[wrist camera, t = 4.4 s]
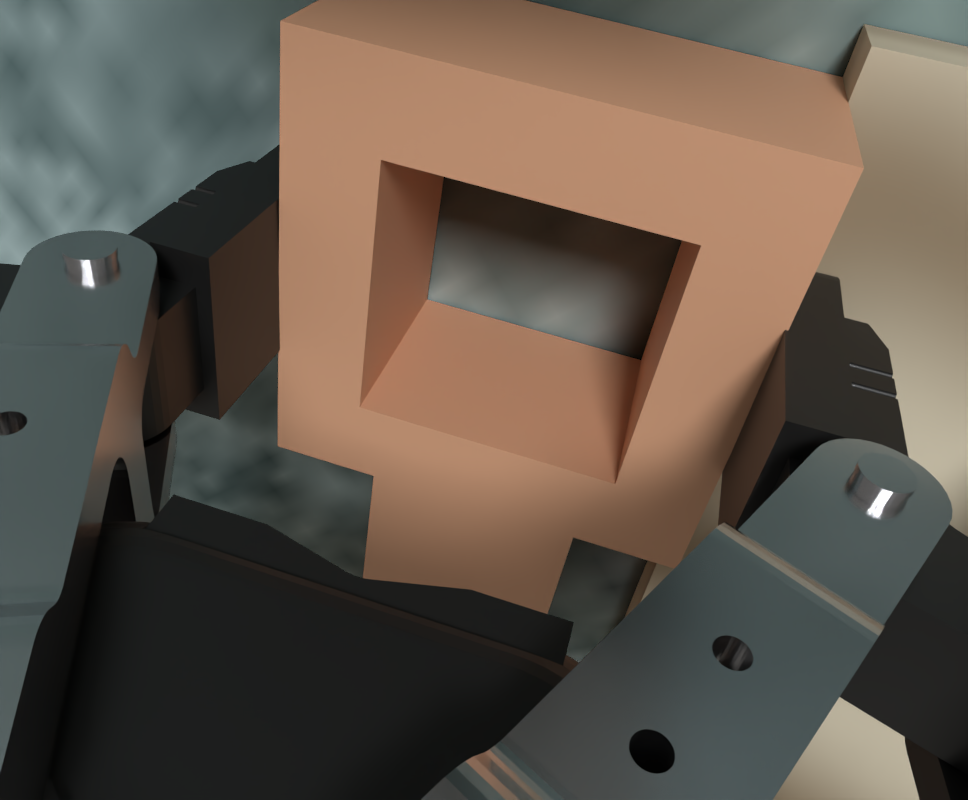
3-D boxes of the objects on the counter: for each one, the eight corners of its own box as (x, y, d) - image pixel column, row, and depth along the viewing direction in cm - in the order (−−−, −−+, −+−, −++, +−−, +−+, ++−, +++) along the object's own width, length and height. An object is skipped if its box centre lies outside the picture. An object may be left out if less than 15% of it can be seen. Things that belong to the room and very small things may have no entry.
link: (381, -35, 11) (280, 21, 9) (842, 77, 10) (863, 167, 8) (330, 641, 20) (275, 754, 18) (572, 721, 20) (546, 848, 18)
